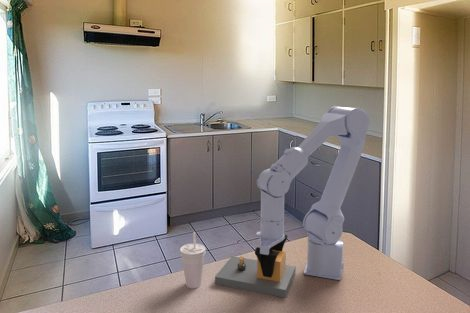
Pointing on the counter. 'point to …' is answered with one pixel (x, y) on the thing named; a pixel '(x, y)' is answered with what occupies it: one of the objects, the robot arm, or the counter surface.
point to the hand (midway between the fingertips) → (271, 269)
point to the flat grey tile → (253, 277)
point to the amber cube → (278, 267)
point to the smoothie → (193, 262)
